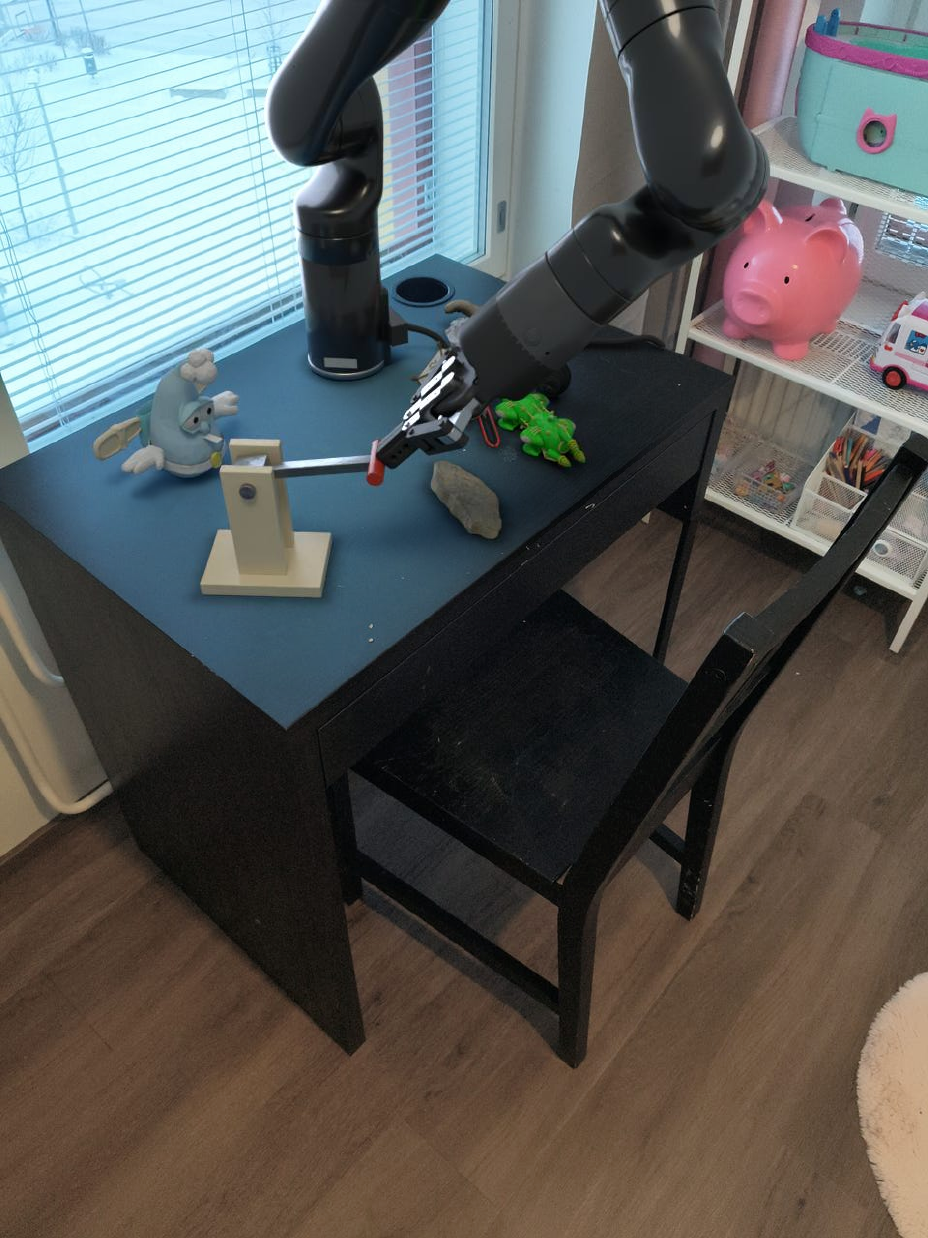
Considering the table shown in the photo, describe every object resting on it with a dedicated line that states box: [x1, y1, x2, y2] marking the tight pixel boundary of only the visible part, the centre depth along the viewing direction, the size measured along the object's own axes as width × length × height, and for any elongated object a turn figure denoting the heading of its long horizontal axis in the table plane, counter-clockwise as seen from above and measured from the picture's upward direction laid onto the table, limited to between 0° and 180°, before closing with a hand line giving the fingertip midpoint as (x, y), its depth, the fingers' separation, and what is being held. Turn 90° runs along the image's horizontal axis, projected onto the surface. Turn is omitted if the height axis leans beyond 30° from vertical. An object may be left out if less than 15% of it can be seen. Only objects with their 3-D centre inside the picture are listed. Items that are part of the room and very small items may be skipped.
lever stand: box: [200, 438, 333, 598], centre depth 90 cm, size 11×8×13 cm
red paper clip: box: [477, 405, 501, 448], centre depth 114 cm, size 2×14×1 cm, turn 9°
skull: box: [443, 299, 483, 351], centre depth 125 cm, size 10×12×6 cm
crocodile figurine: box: [494, 393, 586, 468], centre depth 110 cm, size 7×18×4 cm, turn 27°
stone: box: [430, 460, 502, 540], centre depth 102 cm, size 13×3×5 cm
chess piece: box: [536, 363, 572, 398], centre depth 112 cm, size 4×4×10 cm
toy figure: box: [92, 348, 240, 479], centre depth 100 cm, size 17×10×15 cm, turn 151°
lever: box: [234, 439, 386, 487], centre depth 86 cm, size 13×5×2 cm, turn 88°
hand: (383, 458), depth 85 cm, fingers closed
